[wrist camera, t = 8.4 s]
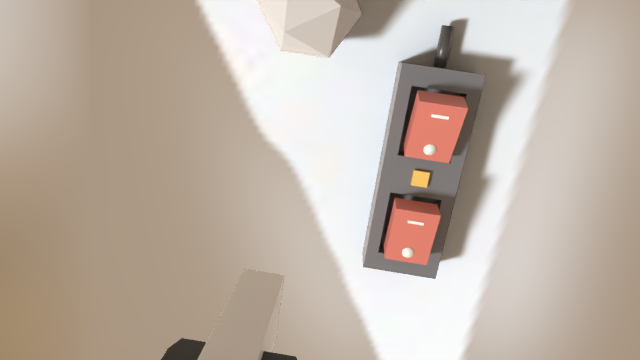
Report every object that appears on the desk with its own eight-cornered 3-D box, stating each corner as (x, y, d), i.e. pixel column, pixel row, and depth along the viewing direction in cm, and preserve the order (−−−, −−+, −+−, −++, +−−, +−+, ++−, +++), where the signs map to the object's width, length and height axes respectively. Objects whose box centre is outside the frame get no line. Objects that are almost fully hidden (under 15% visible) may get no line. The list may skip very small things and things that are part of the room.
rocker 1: (417, 90, 40) (419, 101, 38) (464, 97, 40) (468, 108, 38) (403, 143, 44) (404, 156, 42) (446, 150, 44) (449, 163, 42)
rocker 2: (394, 197, 44) (396, 208, 42) (437, 204, 44) (440, 216, 42) (383, 245, 46) (384, 258, 44) (423, 252, 46) (426, 265, 44)
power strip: (406, 21, 43) (411, 18, 39) (485, 33, 43) (498, 30, 39) (362, 253, 50) (363, 268, 46) (429, 264, 50) (436, 280, 46)
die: (376, 7, 43) (355, -78, 34) (349, 83, 41) (318, 14, 32) (303, 1, 47) (266, -78, 38) (274, 71, 45) (227, 5, 36)
